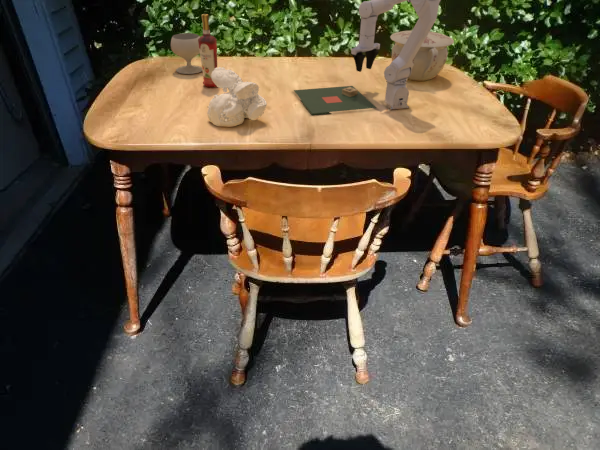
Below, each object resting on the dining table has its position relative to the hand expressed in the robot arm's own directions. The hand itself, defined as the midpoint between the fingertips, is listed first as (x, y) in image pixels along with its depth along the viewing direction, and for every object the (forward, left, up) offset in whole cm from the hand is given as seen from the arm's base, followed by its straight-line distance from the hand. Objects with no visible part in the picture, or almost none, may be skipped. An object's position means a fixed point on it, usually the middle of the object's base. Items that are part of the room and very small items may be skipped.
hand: (363, 69), depth 191 cm
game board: (-6, +15, -9) cm, 18 cm away
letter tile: (-3, +6, -9) cm, 11 cm away
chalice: (+45, +67, -10) cm, 81 cm away
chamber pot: (+15, -32, -10) cm, 37 cm away
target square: (-7, +16, -9) cm, 20 cm away
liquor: (+22, +60, -10) cm, 64 cm away
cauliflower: (-17, +55, -10) cm, 58 cm away
